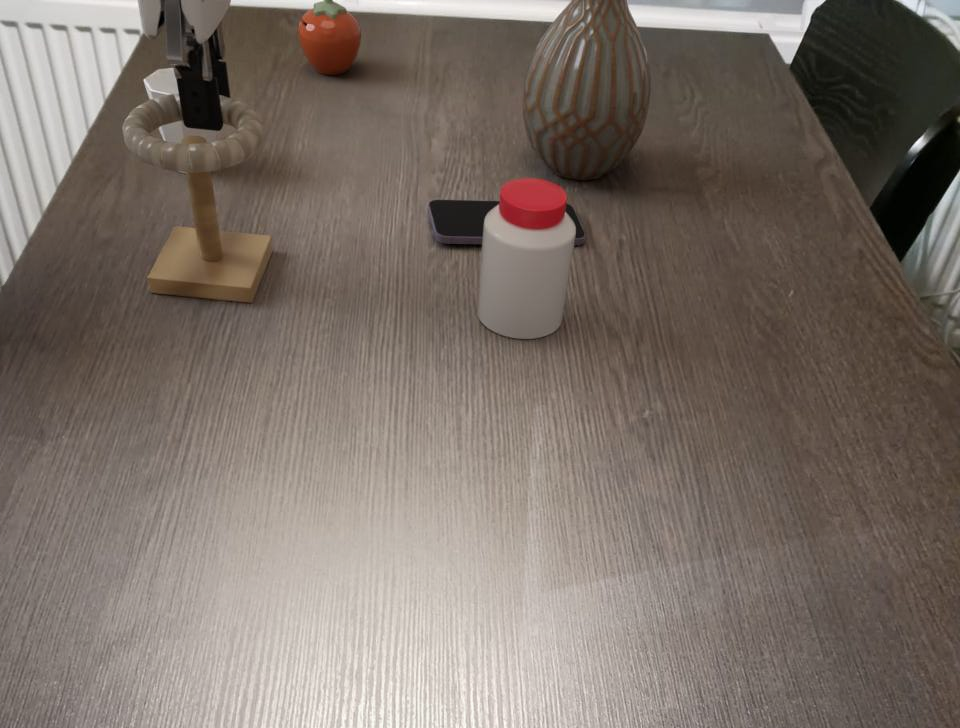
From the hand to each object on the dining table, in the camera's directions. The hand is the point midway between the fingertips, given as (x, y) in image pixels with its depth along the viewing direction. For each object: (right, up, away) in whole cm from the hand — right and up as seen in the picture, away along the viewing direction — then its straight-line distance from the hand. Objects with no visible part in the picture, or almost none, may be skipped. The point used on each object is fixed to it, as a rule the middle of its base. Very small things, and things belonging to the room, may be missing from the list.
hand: (208, 118), depth 82 cm
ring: (0, -3, -3) cm, 4 cm away
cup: (-7, +6, +19) cm, 21 cm away
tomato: (+5, +25, +36) cm, 44 cm away
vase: (+33, +8, +24) cm, 42 cm away
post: (-1, -11, +6) cm, 12 cm away
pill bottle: (+26, -15, +5) cm, 31 cm away
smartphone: (+25, -3, +15) cm, 30 cm away
